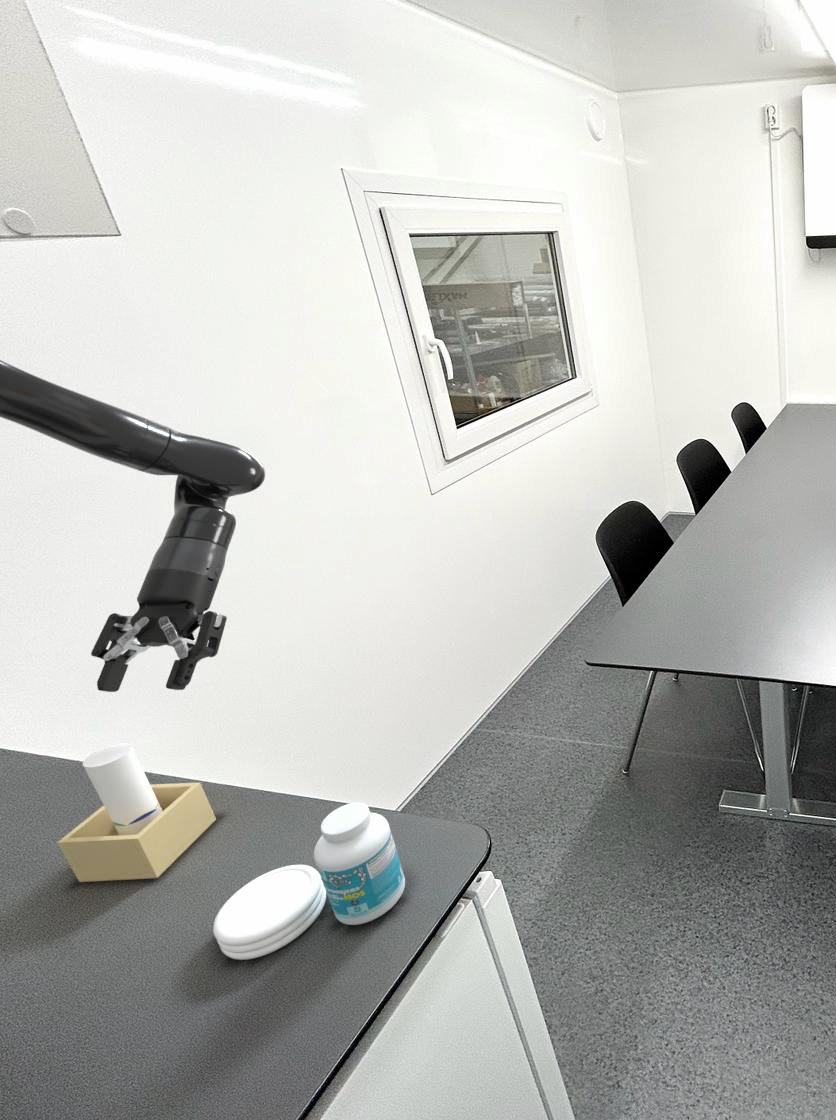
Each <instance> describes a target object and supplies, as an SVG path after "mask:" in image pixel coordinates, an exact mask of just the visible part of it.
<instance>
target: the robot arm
mask: <svg viewBox="0 0 836 1120" xmlns="http://www.w3.org/2000/svg"><path fill="white" fill-rule="evenodd" d="M0 418H2V419H4V420H7V421H10V422H13V423H15V424H18V425H20V426H22V427H25V428H28V429H30V430H33V431H35V432H37V433H40V434H42V435H45V436H46V437H49V438H51V439H54V440H55V441H58V442H61V443H63V444H66V445H67V446H70V447H72V448H75V449H77V450H80V451H82V452H84V453H88V454H90V455H91V456H95V457H98V458H100V459H103V460H106V461H109V462H112V463H115V464H118V465H120V466H124V467H127V468H130V469H133V470H136V471H138V472H142V473H145V474H149V475H154V476H177V477H176V480H175V487H174V500H173V508H174V509H173V510H174V511H173V516H172V518H171V520H170V522H169V525H168V527H167V529H166V532H165V534H164V537H163V540H162V542H161V543H160V546H159V547H158V548H157V550H156V552H155V553H154V556H153V557H152V560H151V562H150V566H149V568H148V570H147V572H146V575H145V578H144V580H143V583H142V585H141V588H140V590H139V592H138V595H137V597H136V601H137V603H138V610H137V611H136V612H135V614H133V615H124V614H120V613H116V612H114V613H111V614H109V616H108V617H107V619H106V621H105V623H104V625H103V627H102V630H101V631H100V634H99V636H98V638H97V640H96V642H95V643H94V646H93V648H92V649H91V652H90V655H91V656H92V657H94V658H99V659H101V660H103V661H104V664H103V667H102V669H101V672H100V674H99V677H98V678H97V681H96V686H97V690H98V691H100V692H106V693H116V692H118V691H119V690H120V688H121V685H122V683H123V680H124V678H125V675H126V673H127V670H128V668H129V662H131V661H132V660H133V659H134V658H135V657H137V655H139V654H140V653H145V652H146V651H147V650H149V649H150V648H152V647H154V648H155V647H157V648H158V647H163V646H168V647H172V648H173V650H174V651H175V653H176V657H178V659H174V662H173V663H172V667H171V670H170V672H169V675H168V678H167V680H166V684H165V688H166V689H167V690H173V691H183V690H185V689H186V687H187V686H189V684H190V683H191V681H192V677H193V674H194V672H195V670H196V666H197V664H198V662H201V660H204V659H205V658H214V657H216V656H217V655H218V652H219V650H220V649H219V648H220V645H221V641H222V637H223V634H224V630H225V628H226V623H227V619H228V618H227V616H226V615H223V614H222V613H218V612H216V611H211V610H209V609H210V608H211V605H212V602H213V599H214V596H215V594H216V592H217V588H218V585H219V583H220V579H221V577H222V575H223V571H224V568H225V564H226V559H227V553H228V550H229V548H230V544H231V542H232V539H233V536H234V534H235V530H236V527H237V518H236V517H235V515H234V514H233V513H232V512H231V511H229V510H228V509H226V506H227V502H228V500H229V498H231V497H236V496H240V495H245V494H248V493H251V492H254V491H256V490H257V489H258V488H260V487H261V486H262V485H263V483H264V482H265V480H266V470H265V467H264V465H263V464H262V462H261V461H260V460H259V459H258V458H257V457H256V456H255V455H254V454H253V453H250V452H249V451H247V450H246V449H243V448H240V447H238V446H236V445H232V444H229V443H225V442H222V441H218V440H214V439H210V438H207V437H202V436H197V435H193V434H188V433H185V432H180V431H178V430H176V429H173V428H170V427H168V426H166V425H164V424H162V423H159V422H156V421H154V420H151V419H148V418H146V417H145V416H144V417H143V416H142V415H139V414H136V413H134V412H130V411H128V410H126V409H122V408H120V407H118V406H115V405H112V404H109V403H106V402H104V401H101V400H98V399H96V398H93V397H91V396H88V395H85V394H82V393H80V392H77V391H74V390H73V389H72V390H71V389H69V388H66V387H64V386H62V385H59V384H56V383H53V382H52V381H48V380H46V379H43V378H41V377H39V376H37V375H34V374H32V373H30V372H28V371H25V370H23V369H20V368H19V367H16V366H14V365H12V364H10V363H8V362H5V361H3V360H2V359H0ZM198 628H199V630H198V633H197V635H196V633H195V631H197V629H198ZM135 639H136V641H135ZM110 642H111V643H110ZM109 643H110V645H109ZM108 646H109V647H108Z"/></svg>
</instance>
